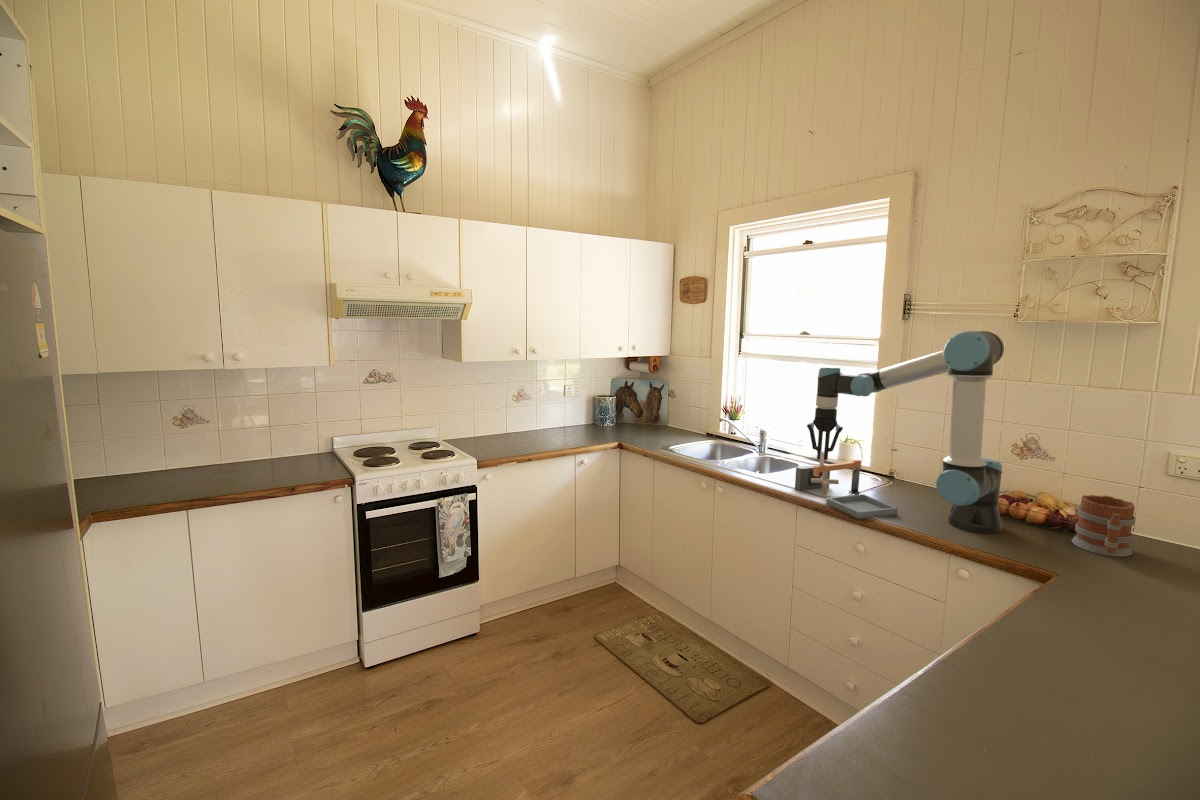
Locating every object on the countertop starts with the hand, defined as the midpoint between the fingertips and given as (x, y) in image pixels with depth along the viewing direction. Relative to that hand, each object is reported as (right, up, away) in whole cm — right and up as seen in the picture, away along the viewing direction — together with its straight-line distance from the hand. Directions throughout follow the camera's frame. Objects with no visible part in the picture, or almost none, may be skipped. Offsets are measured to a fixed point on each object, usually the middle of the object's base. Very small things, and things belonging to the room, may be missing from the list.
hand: (821, 468), depth 219 cm
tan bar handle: (+6, -2, 0) cm, 7 cm away
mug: (+66, -19, -48) cm, 84 cm away
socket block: (+1, -10, +13) cm, 16 cm away
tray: (+9, -13, -13) cm, 21 cm away
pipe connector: (+3, -11, +6) cm, 13 cm away
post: (+15, -11, +6) cm, 19 cm away
